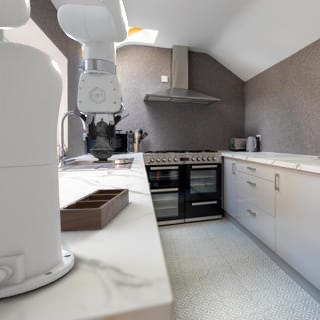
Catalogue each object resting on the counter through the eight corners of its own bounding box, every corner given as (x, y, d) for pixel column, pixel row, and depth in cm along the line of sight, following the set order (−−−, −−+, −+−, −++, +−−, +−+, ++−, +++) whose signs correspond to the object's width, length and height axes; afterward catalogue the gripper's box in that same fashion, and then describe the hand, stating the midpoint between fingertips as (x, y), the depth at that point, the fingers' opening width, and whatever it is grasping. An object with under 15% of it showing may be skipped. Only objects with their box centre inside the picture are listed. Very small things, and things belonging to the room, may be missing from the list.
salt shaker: (119, 162, 73) (118, 118, 72) (106, 163, 67) (105, 116, 67) (99, 161, 74) (98, 119, 73) (85, 163, 68) (84, 116, 67)
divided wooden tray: (101, 228, 56) (100, 208, 56) (56, 231, 55) (55, 210, 54) (128, 202, 81) (128, 188, 80) (98, 203, 79) (98, 189, 79)
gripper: (59, 64, 64) (61, 139, 65) (130, 68, 67) (131, 139, 68) (72, 73, 71) (74, 140, 72) (136, 76, 74) (137, 140, 75)
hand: (102, 139), depth 70 cm, fingers closed on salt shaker, 3 cm apart
